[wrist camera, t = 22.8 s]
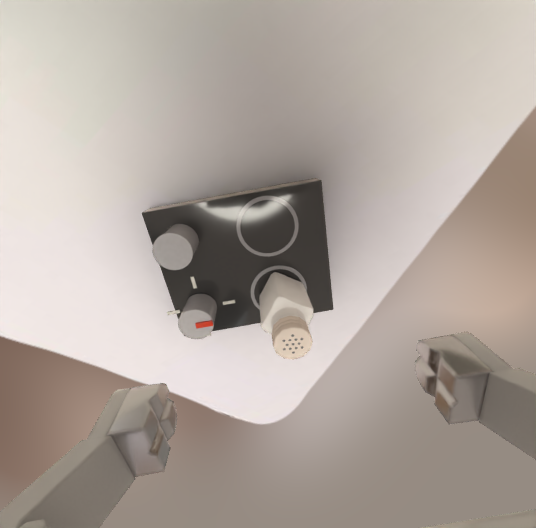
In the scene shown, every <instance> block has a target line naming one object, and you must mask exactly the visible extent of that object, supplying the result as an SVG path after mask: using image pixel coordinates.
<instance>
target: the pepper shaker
mask: <svg viewBox="0 0 536 528" xmlns="http://www.w3.org/2000/svg"><path fill="white" fill-rule="evenodd" d="M259 302H260V317H261V327H262V329H263V330H264V331H265V332H267V333H269V334H271V335H272V340H273V346H274V349H275V351H276V353H277V354H278V355H280V356H281V357H283V358H285V359H297V358H300V357H303V356H304V355H305V354H306V353H307V352H308V351H310V348H311V345H312V342H313V341H312V338H311V335H310V332H309V329H308V325H309V323H310V321H311V319H312V317H313V307H312V305H311V302H310V300H309V297H308V295H307V292H306V290H305V287H304V285H303V284H302V283H301V282H299V281H297V280H294V279H292V278H290V277H287V276H285V275H283V274H280V273H278V272H274V273H273V274H271V275H270V277H269V279H268V281H267V283H266V285H265V287H264V289H263V291H262V293H261V294H260V297H259Z"/></svg>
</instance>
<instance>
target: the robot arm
mask: <svg viewBox="0 0 536 528" xmlns="http://www.w3.org/2000/svg"><path fill="white" fill-rule="evenodd" d="M416 351H417V352H418V353H419V355H420V356H419V357H418V359H417V360H416V361H415V371H416V375H417V379H418V381H419V382H420V385H421V386H422V388H423V389H424V391H425V392H426V393H428V394H430V395H432V396H434V397H435V403H434V404H435V406H436V407H437V409H438V410H439V411H440V413H441V414H442V415H443V417H444V418H445V420H446V421H447V422H448V424H455V423H463V422H469V421H478V420H479V422H480V423H481V424H483V425H484V426H486V427H487V428H489V429H490V430H492V431H493V432H495V433H496V434H498V435H499V436H501V437H502V438H504V439H505V440H507V441H509V442H510V443H511V444H513V445H515V446H516V447H517V448H519V449H520V450H522V451H523V452H525V453H526V454H528V455H529V456H531V457H532V458H534V459H536V374H533V373H531V372H528V371H526V370H523V369H520V368H515V369H513V368H512V367H511V366H510V365H509V364H507V363H506V362H505V361H504V360H503V359H501V358H500V357H499V356H498V355H497V354H495V353H494V352H493V351H492V350H491V349H489V348H488V347H487V346H486V345H485V344H483V343H482V342H481V341H480V340H479V339H477V338H476V337H475V336H474V335H472V334H471V333H469V332H463V333H458V334H452V335H447V336H441V337H435V338H430V339H424V340H419V341H418V343H417V346H416ZM168 394H169V390H168V388H167V385H166V384H164V383H160V384H153V385H146V386H139V387H133V388H128V389H120V390H116V391H115V392H114V393H113V394H112V395H111V397H110V399H109V401H108V403H107V404H106V406H105V408H104V410H103V411H102V413H101V415H100V417H99V419H98V420H97V422H96V424H95V426H94V428H93V429H92V431H91V433H90V435H89V436H88V438H87V440H82V441H80V442H79V443H78V444H77V445H76V446H75V447H73V448H72V449H71V450H70V451H69V452H68V453H67V454H65V455H64V456H63V457H62V458H61V459H60V460H59V461H57V462H56V463H55V464H54V465H53V466H52V467H50V468H49V469H48V470H47V471H46V472H45V473H44V474H42V475H41V476H40V477H39V478H38V479H37V480H36V481H34V482H33V483H32V484H31V485H30V486H29V487H28V488H26V490H24V491H23V492H22V493H21V494H19V495H18V496H17V497H16V498H15V499H14V500H13V501H11V502H10V503H9V504H8V505H7V506H6V507H5V508H3V509H2V510H1V511H0V528H99V527H100V526H101V525H102V523H103V522H104V520H105V519H106V518H107V517H108V515H109V514H110V512H111V511H112V510H113V508H114V507H115V506H116V504H117V503H118V502H119V500H120V499H121V498H122V496H123V495H124V494H125V492H126V491H127V490H128V488H129V487H130V485H131V484H132V483H133V481H134V480H135V477H138V476H143V475H148V474H153V473H158V472H163V471H164V470H165V466H166V463H167V459H168V455H169V451H170V446H169V444H168V440H169V439H170V438H171V437H172V435H173V434H174V432H175V428H176V422H177V413H176V407H175V404H174V402H173V401H172V400H170V399H169V398H167V397H168ZM423 528H536V509H533V510H527V511H521V512H515V513H509V514H503V515H496V516H491V517H484V518H478V519H472V520H466V521H460V522H453V523H447V524H441V525H435V526H429V527H423Z"/></svg>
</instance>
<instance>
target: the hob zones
mask: <svg viewBox="0 0 536 528" xmlns="http://www.w3.org/2000/svg"><path fill="white" fill-rule="evenodd" d="M298 226H299V225H298V218H297V215H296V213H295V211H294V209H293V208H292V206H291V205H290V204H289V203H287V202H286V201H285V200H283V199H281V198H279V197H275V196H260V197H257V198H255V199H253V200H251V201H249V202H248V203H247V204H246V205H245V206H244V207H243V208H242V210H241V211H240V213H239V216H238V219H237V225H236V228H237V234H238V237H239V240H240V241H241V243H242V244H243V246H244V247H245V248H246V249H247V250H249V251H250V252H252V253H254V254H256V255H259V256H275V255H278V254H280V253H282V252H284V251H286V250H287V249H288V248H289V247H290V246H291V245H292V244H293V242H294V241H295V239H296V236H297V233H298ZM198 246H199V238H198V235H197V233H196V232H195V231H194V230H193V229H192V228H191V227H189V226H187V225H184V224H175V225H172V226H170V227H169V228H168V229H167V230H166V231H164V232H163V233H162V234H161V235H160V236H159V237H158V238H157V239H156V240H155V242H154V244H153V255H154V258H155V260H156V261H157V262H158V263H159V264H160V265H161V266H163V267H164V268H166V269H170V270H180V269H183V268H185V267H186V266H187V265H189V263H190V262H191V260H192V258H193V256H194V255H195V253H196V251H197V249H198ZM274 272H278V273H280V274H283V275H285V276H287V277H290V278H292V279H294V280H297V281H299V282H301V283H302V284H303V285H304V287H305V290H306V292H307V286H306V282H305V280H304V278H303V276H302V275H301V274H300V273H299V272H298V271H297V270H295V269H293V268H291V267H288V266H282V265H278V266H272V267H269V268H266V269H265V270H263V271H261V272H260V273H259V274H258V275H257V276H256V277H255V279H254V281H253V283H252V286H251V298H252V301H253V303H254V305H255V306H256V307H257V308H258V309H259V310H260V302H259V297H260V294H261V293H262V291H263V289H264V287H265V285H266V283H267V281H268V279H269V277H270V275H271V274H273V273H274Z"/></svg>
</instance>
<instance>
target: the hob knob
mask: <svg viewBox="0 0 536 528" xmlns="http://www.w3.org/2000/svg"><path fill="white" fill-rule="evenodd" d="M216 313H217V304H216V302H215V300H214V299H213V298H212V297H210V296H209V295H206V294H195V295H192V296H191V297H189V298H188V299H187V301H186V303H185V306H184V308H183V310H182V313H181V315H180V317H179V320H178V326H179V329H180V331H181V332H182V333H183V334H184V335H185V336H187V337H189V338H192V339H202V338H205V337H207V336H208V335H209V334H210V333H211V332H212V330H213V327H214V323H215V318H216Z"/></svg>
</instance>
